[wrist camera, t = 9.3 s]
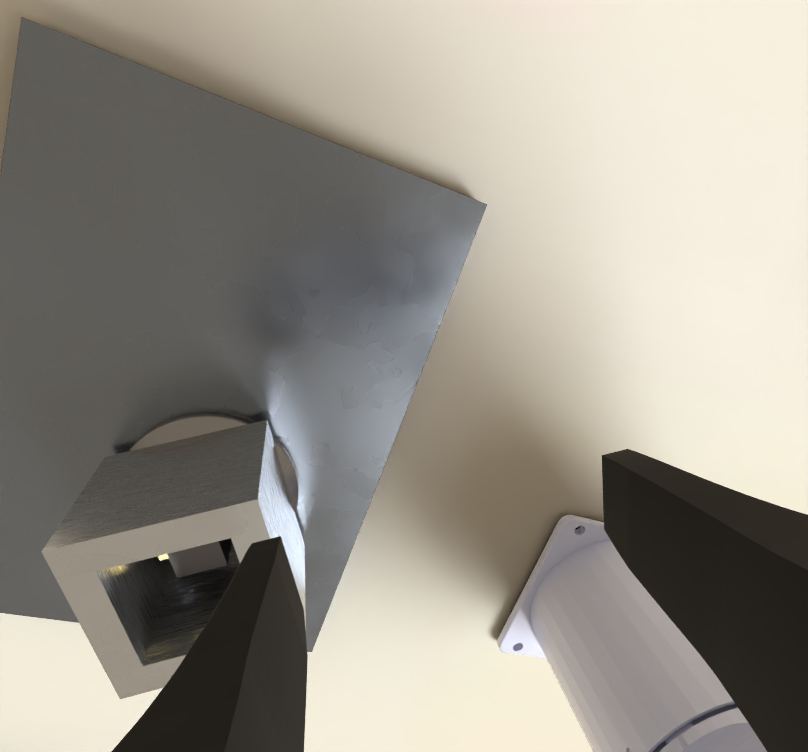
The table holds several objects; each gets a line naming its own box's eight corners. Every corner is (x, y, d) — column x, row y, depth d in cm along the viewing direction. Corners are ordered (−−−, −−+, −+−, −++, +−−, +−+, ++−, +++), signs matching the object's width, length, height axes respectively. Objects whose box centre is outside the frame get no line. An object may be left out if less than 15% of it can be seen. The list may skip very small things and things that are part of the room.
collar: (267, 419, 19) (257, 499, 15) (304, 544, 21) (305, 648, 17) (104, 456, 19) (41, 551, 14) (159, 581, 21) (120, 699, 16)
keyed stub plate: (478, 202, 19) (527, 212, 15) (311, 633, 25) (313, 727, 21) (38, 25, 15) (-59, -26, 11) (-42, 586, 21) (-127, 689, 17)
